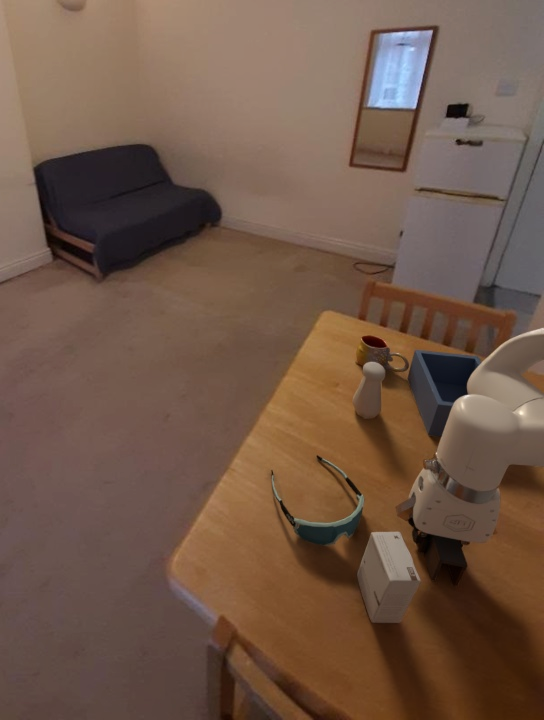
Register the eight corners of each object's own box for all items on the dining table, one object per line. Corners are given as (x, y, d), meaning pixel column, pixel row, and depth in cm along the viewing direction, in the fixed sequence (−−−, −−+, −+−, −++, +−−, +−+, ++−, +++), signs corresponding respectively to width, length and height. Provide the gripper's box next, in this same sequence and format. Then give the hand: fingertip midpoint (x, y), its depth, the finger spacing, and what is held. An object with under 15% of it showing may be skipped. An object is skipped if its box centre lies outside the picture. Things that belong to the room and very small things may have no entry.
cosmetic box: (355, 574, 62) (367, 529, 57) (384, 574, 62) (399, 528, 57) (371, 626, 57) (387, 581, 51) (403, 626, 57) (422, 580, 51)
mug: (350, 362, 103) (354, 341, 100) (362, 348, 107) (366, 328, 104) (399, 386, 95) (405, 365, 92) (410, 371, 99) (416, 350, 96)
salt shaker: (370, 427, 85) (381, 381, 80) (345, 410, 90) (354, 366, 84) (384, 412, 89) (395, 367, 83) (359, 396, 93) (368, 353, 87)
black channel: (435, 517, 69) (443, 496, 67) (457, 586, 60) (468, 565, 58) (412, 512, 70) (419, 492, 67) (431, 580, 61) (440, 559, 59)
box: (467, 385, 94) (478, 356, 91) (499, 445, 81) (513, 414, 77) (407, 378, 97) (414, 349, 93) (427, 435, 83) (438, 404, 79)
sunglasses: (304, 561, 64) (304, 538, 62) (261, 482, 78) (261, 462, 76) (378, 531, 67) (381, 509, 66) (325, 461, 81) (326, 441, 79)
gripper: (406, 487, 55) (383, 560, 64) (547, 512, 52) (503, 585, 60) (393, 440, 62) (373, 511, 70) (517, 459, 59) (482, 531, 67)
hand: (434, 545), depth 65 cm, fingers open, 3 cm apart
